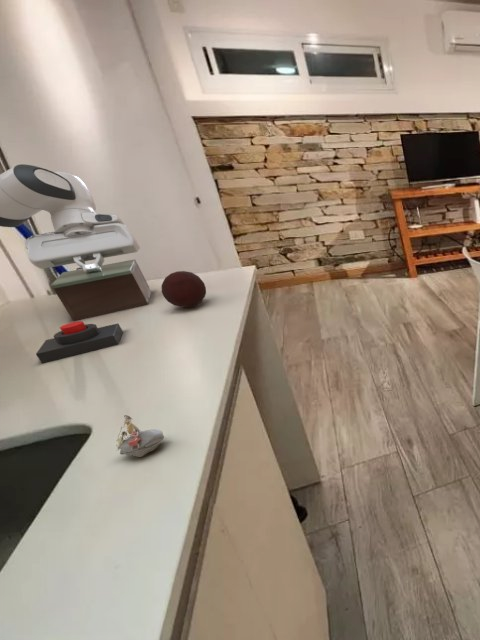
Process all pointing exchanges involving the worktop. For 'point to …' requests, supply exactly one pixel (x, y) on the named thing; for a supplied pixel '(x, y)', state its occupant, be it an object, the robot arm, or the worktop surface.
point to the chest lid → (94, 274)
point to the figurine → (138, 440)
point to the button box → (79, 342)
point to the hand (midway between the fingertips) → (93, 271)
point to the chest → (105, 295)
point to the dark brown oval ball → (183, 289)
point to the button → (73, 327)
